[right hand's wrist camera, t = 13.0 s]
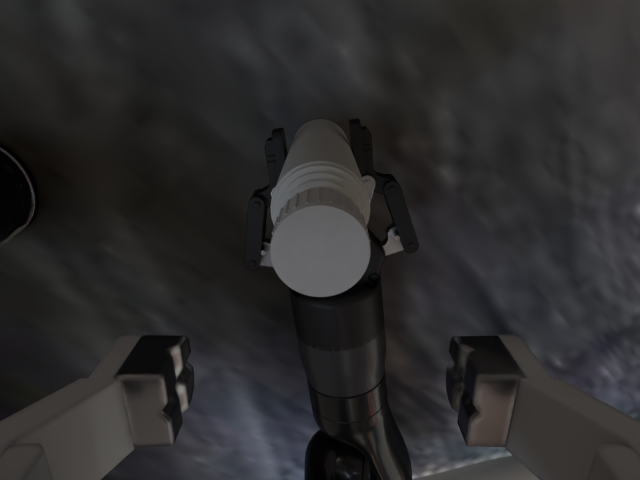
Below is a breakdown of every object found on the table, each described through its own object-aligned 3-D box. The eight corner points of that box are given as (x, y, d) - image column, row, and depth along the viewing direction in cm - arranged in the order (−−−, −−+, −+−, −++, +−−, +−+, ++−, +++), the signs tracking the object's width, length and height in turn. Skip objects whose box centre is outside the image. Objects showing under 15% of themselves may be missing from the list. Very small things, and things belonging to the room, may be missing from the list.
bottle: (353, 125, 37) (398, 202, 16) (341, 179, 39) (366, 314, 18) (298, 113, 37) (268, 174, 15) (287, 168, 38) (248, 292, 17)
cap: (375, 196, 18) (383, 215, 16) (353, 278, 19) (358, 306, 17) (284, 177, 18) (278, 193, 15) (268, 262, 19) (261, 288, 17)
